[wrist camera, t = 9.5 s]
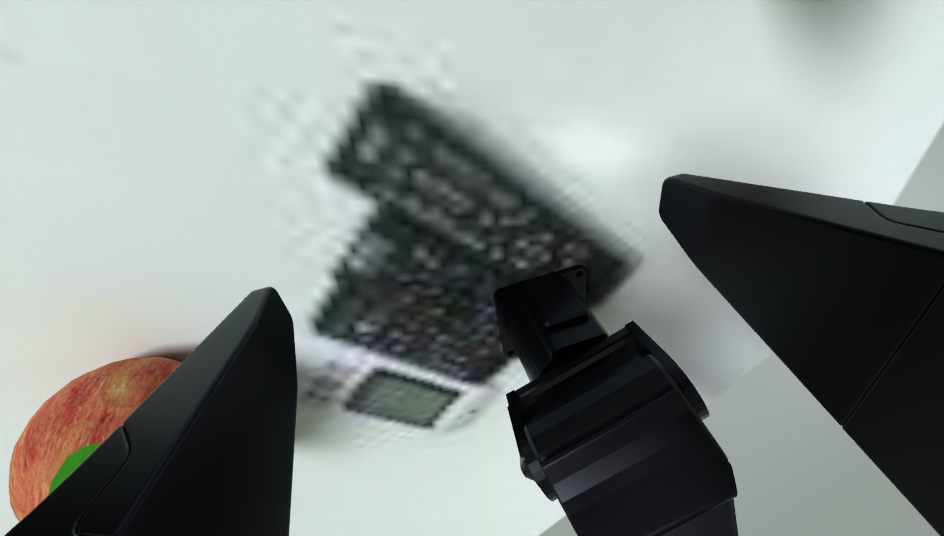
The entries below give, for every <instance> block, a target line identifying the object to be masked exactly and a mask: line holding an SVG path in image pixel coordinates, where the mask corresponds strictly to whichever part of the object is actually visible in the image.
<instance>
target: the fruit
mask: <svg viewBox="0 0 944 536" xmlns="http://www.w3.org/2000/svg"><path fill="white" fill-rule="evenodd" d="M181 363H182V362H179V361H175V360H172V359H168V358H162V357H146V358H130V359H126V360H122V361H117V362H113V363H110V364H108V365H105V366H103V367H100V368H98V369H96V370H93V371H91V372H88V373H86V374H84V375H82V376H80V377H78V378H76V379H74V380H72V381H71V382H70V383H68V384H67V385H66V386H65V387H63V388H62V389H61V390H60V391H58V392H57V393H56V394H55V395H53V396H52V397H51V398H49V399H48V400H47V401H46V402H44V404H43V405H42V406H41V407H40V408H39V410H38V411H37V412H36V413H35V414H34V416H33V417H32V418H31V419H30V421H29V422H28V424H27V426H26V428H25V429H24V431H23V433H22V434H21V436H20V438H19V440H18V441H17V443H16V445H15V446H14V450H13V454H12V459H11V463H10V474H9V493H10V503H11V507H12V509H13V511H14V514H15V516H16V518H17V519H18V520H19V521H21V520H22V519H23V518H24V517H25V516H26V515H28V514H29V513H30V512H31V511H32V510H33V509H34V508H35V507H36V506H37V505H38V504H39V503H41V502H42V501H43V500H44V499H45V498H46V497H47V496H48V495H49V494H50V493H51V492H52V491H53V490H55V489H56V488H57V487H58V486H59V485H60V484H61V483H62V482H63V481H64V480H65V479H66V478H67V477H68V476H70V475H71V474H72V473H73V472H74V471H75V470H76V469H77V468H78V467H79V466H80V465H81V464H82V463H83V462H84V461H85V460H86V459H87V458H88V457H89V456H90V455H91V454H92V453H93V452H94V451H95V450H96V449H97V448H98V447H99V446H100V445H101V444H102V443H103V442H104V441H105V440H106V439H107V438H108V437H109V436H110V435H111V434H112V433H113V432H114V431H115V430H116V429H117V428H118V427H119V426H121V425H123V422H124V421H125V420H126V419H127V418H128V417H129V416H130V415H131V414H132V413H133V412H134V411H135V410H136V409H137V408H138V407H139V406H140V405H141V404H142V402H143V401H144V400H145V399H146V398H147V397H148V396H149V395H150V394H151V393H152V392H153V391H154V390H155V389H156V388H157V387H158V386H159V385H160V384H161V383H162V382H163V381H164V380H165V379H166V378H167V377H168V376H169V375H170V374H171V373H172V372H173V371H174V370H175V369H176V368H177V367H178V366H179V365H180V364H181ZM123 426H124V425H123Z"/></svg>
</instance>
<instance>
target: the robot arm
mask: <svg viewBox="0 0 944 536" xmlns="http://www.w3.org/2000/svg"><path fill="white" fill-rule="evenodd" d="M659 214H660V217H661V219H662V221H663V222H664V223H665V225H666V226H667V228H668V229H669V230H670V232H671V233H672V234H673V236H674V237H675V239H676V240H677V241H678V243H679V244H680V245H681V247H682V248H683V250H684V251H685V252H686V254H687V255H688V257H689V258H690V259H691V260H692V262H693V263H694V264H695V266H696V267H697V268H698V269H699V270H700V271H701V273H702V274H703V275H704V276H705V277H706V278H707V279H708V280H709V281H710V282H711V284H712V285H713V286H714V287H715V288H716V289H717V290H718V291H719V292H720V293H721V295H722V296H723V297H724V298H725V299H726V300H727V301H728V302H729V303H730V304H731V306H732V307H733V308H734V309H735V310H736V311H737V312H738V313H739V314H740V315H741V317H742V318H743V319H744V320H745V321H746V322H747V323H748V324H749V325H750V326H751V328H752V329H753V330H754V331H755V332H756V333H757V334H758V335H759V336H760V337H761V339H762V340H763V341H764V342H765V343H766V344H767V345H768V346H769V347H770V348H771V350H772V351H773V352H774V353H775V354H776V355H777V356H778V357H779V358H780V359H781V360H782V362H783V363H784V364H785V365H786V366H787V367H788V368H789V369H790V370H791V372H792V373H793V374H794V375H795V376H796V377H797V378H798V379H799V380H800V381H801V383H802V384H803V385H804V386H805V387H806V388H807V389H808V390H809V391H810V392H811V394H812V395H813V396H814V397H815V398H816V399H817V400H818V401H819V402H820V403H821V405H822V406H823V407H824V408H825V409H826V410H827V411H828V412H829V413H830V414H831V416H832V417H833V418H834V419H835V420H836V421H837V422H838V423H839V424H840V425H842V426H843V427H842V428H843V429H844V430H845V431H846V433H847V434H848V435H849V436H850V437H851V438H852V439H853V440H854V441H855V442H856V443H857V445H858V446H859V447H860V448H861V449H862V450H863V451H864V452H865V453H866V455H868V457H869V458H870V459H871V460H872V461H873V462H874V463H875V464H876V466H877V467H878V468H879V469H880V470H881V471H882V472H883V473H884V474H885V475H886V477H887V478H888V479H889V480H890V481H891V482H892V483H893V484H894V485H895V486H896V488H897V489H898V490H899V491H900V492H901V493H902V494H903V495H904V496H905V498H906V499H907V500H908V501H909V502H910V503H911V504H912V505H913V506H914V507H915V509H916V510H917V511H918V512H919V513H920V514H921V515H922V516H923V517H924V518H925V520H926V521H927V522H928V523H929V524H930V525H931V526H932V527H933V528H934V529H935V531H936V532H937V533H938V534H939V535H940V536H944V212H936V211H928V210H921V209H914V208H907V207H900V206H893V205H886V204H880V203H873V202H865V203H864V202H863V201H860V200H853V199H847V198H840V197H833V196H827V195H820V194H814V193H807V192H801V191H794V190H788V189H781V188H775V187H768V186H761V185H755V184H748V183H742V182H735V181H729V180H722V179H716V178H709V177H702V176H696V175H689V174H679V175H675V176H672V177H668V178H667V179H665V180H664V182H663V185H662V192H661V199H660V206H659ZM579 271H580V272H579ZM577 272H579V273H577ZM576 273H577V274H576ZM501 295H503V296H502V297H500V296H501ZM493 298H494V304H495V309H496V315H497V320H498V326H499V332H500V337H501V343H502V348H503V352H504V354H505V356H506V357H513V356H516V355H518V357H519V359H520V361H521V363H522V365H523V367H524V369H525V372H526V374H527V376H528V378H529V380H530V383H528V384H526V385H525V386H523V387H521V388H519V389H518V390H516V391H514V390H513V391H511V392H509V393H508V394H506V396H507V400H508V404H509V406H508V411H509V415H510V419H511V423H512V427H513V431H514V434H515V438H516V442H517V446H518V450H519V454H520V467H521V470H522V472H523V474H524V476H525V477H526V478H529V479H531V480H534V481H535V482H536V483H537V485H538V486H539V487H540V488H541V490H542V491H543V493H544V494H545V495H546V497H547V498H548V499H549V500H551V501H554V500H556V499H558V500H559V502H560V504H561V506H562V508H563V509H564V511H565V513H566V515H567V517H568V519H569V521H570V522H571V524H572V526H573V528H574V530H575V532H576V533H577V535H578V536H738V530H737V523H736V515H735V508H734V499H733V498H735V497H737V488H736V483H735V478H734V474H733V470H732V467H731V464H730V463H729V462H728V459H727V457H726V455H725V453H724V452H723V450H722V449H721V447H720V446H719V445H718V443H717V442H716V440H715V439H714V437H713V436H712V434H711V433H710V432H709V430H708V429H707V427H706V426H705V425H704V423H703V422H702V420H703V419H705V418H707V417H709V412H708V409H707V407H706V405H705V403H704V401H703V400H702V398H701V396H700V395H699V393H698V392H697V390H696V389H695V387H694V386H693V384H692V383H691V381H690V380H689V379H688V377H687V376H686V375H685V373H684V372H683V371H682V370H681V368H680V367H679V366H678V365H677V364H676V363H675V361H674V360H673V359H672V358H671V357H670V356H669V355H668V354H667V353H666V352H665V351H664V350H663V349H662V348H661V347H660V346H658V345H657V344H656V343H655V342H654V341H653V340H652V339H651V338H650V337H649V336H648V335H647V334H646V333H645V332H644V331H643V330H642V329H641V328H640V327H639V326H638V325H637V324H636V323H635V322H634V321H632V322H630V323H628V324H627V325H625V327H624V328H623V329H621V330H619V331H618V332H616V333H614V334H612V335H611V336H609V334H608V333H607V332H606V330H605V329H604V327H603V326H602V325H601V323H600V322H599V321H598V319H597V318H596V317H595V315H594V314H593V313H592V311H591V310H590V309H589V307H588V306H587V305H586V270H585V269H584V268H583V266H582V265H576V266H572V267H569V268H566V269H563V270H559V271H556V272H553V273H550V274H546V275H543V276H540V277H536V278H533V279H530V280H527V281H523V282H520V283H517V284H514V285H510V286H507V287H504V288H500V289H498V290H496V291H495V292H494V294H493ZM296 407H297V369H296V355H295V342H294V328H293V321H292V317H291V315H290V313H289V311H288V310H287V308H286V306H285V304H284V303H283V301H282V299H281V297H280V296H279V294H278V292H277V291H276V290H275V289H274V288H273V287H266V288H263V289H259V290H255V291H253V292H251V293H250V294H249V295H248V296H247V297H246V298H245V299H244V300H243V301H242V302H241V303H240V304H239V305H238V306H237V307H236V308H235V309H234V310H233V311H232V312H231V313H230V314H229V315H228V316H227V317H226V318H225V319H224V320H223V321H222V322H221V323H220V324H219V325H218V326H217V327H216V328H215V329H214V330H213V331H212V332H211V333H210V334H209V335H208V336H207V337H206V339H205V340H204V341H203V342H202V343H201V344H200V345H199V346H198V347H197V348H196V349H195V350H194V351H193V352H192V353H191V354H190V355H189V356H188V357H187V358H186V359H185V360H184V361H183V362H182V363H181V364H180V365H179V366H178V367H177V368H176V369H175V370H174V371H173V372H172V373H171V374H170V375H169V376H168V377H167V378H166V379H165V380H164V381H163V382H162V383H161V384H160V385H159V386H158V387H157V388H156V389H155V390H154V391H153V392H152V393H151V394H150V395H149V396H148V397H147V398H146V399H145V400H144V401H143V402H142V404H141V405H140V406H139V407H138V408H137V409H136V410H135V411H134V412H133V413H132V414H131V415H130V416H129V417H128V418H127V419H126V420H125V421H124V422H123V425H124V426H123V425H121V426H119V427H118V428H117V429H116V430H115V431H114V432H113V433H112V434H111V435H110V436H109V437H108V438H107V439H106V440H105V441H104V442H103V443H102V444H101V445H100V446H99V447H98V448H97V449H96V450H95V451H94V452H93V453H92V454H91V455H90V456H89V457H88V458H87V459H86V460H85V461H84V462H83V463H82V464H81V465H80V466H79V467H78V468H77V469H76V470H75V471H74V472H73V473H72V474H71V475H70V476H68V477H67V478H66V479H65V480H64V481H63V482H62V483H61V484H60V485H59V486H58V487H57V488H56V489H55V490H53V491H52V492H51V493H50V494H49V495H48V496H47V497H46V498H45V499H44V500H43V501H42V502H41V503H39V504H38V505H37V506H36V507H35V508H34V509H33V510H32V511H31V512H30V513H29V514H28V515H26V516H25V517H24V518H23V519H22V520H21V521H20V522H19V523H18V524H17V525H16V526H14V527H13V528H12V529H11V530H10V531H9V532H8V533H7V534H6V535H5V536H289V526H290V509H291V492H292V475H293V458H294V441H295V424H296Z"/></svg>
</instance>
